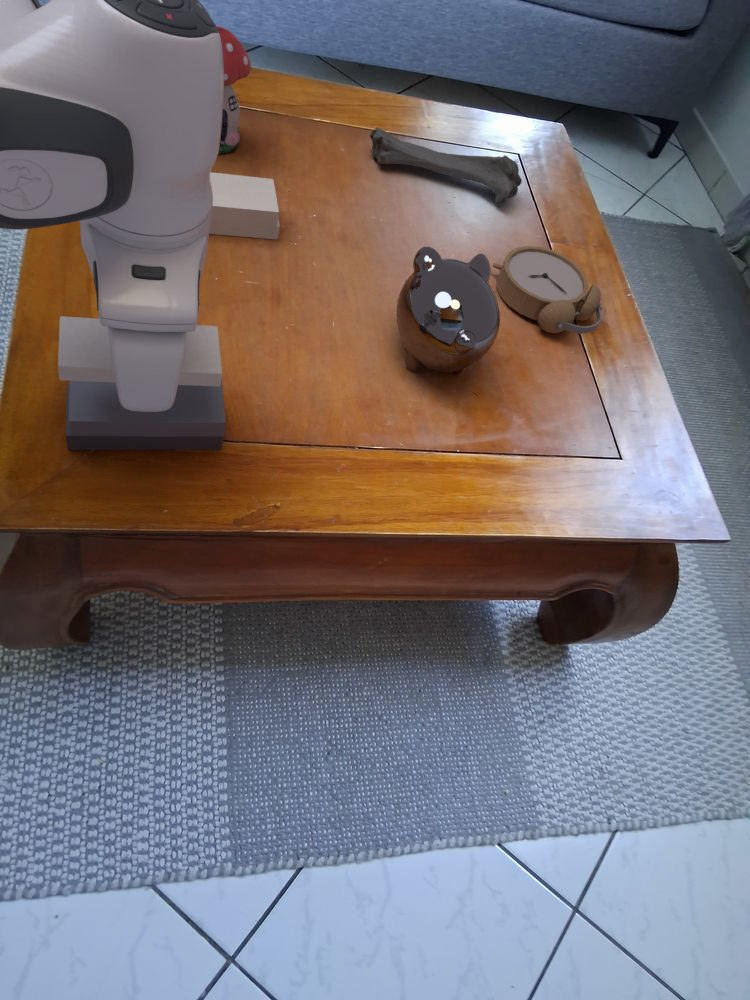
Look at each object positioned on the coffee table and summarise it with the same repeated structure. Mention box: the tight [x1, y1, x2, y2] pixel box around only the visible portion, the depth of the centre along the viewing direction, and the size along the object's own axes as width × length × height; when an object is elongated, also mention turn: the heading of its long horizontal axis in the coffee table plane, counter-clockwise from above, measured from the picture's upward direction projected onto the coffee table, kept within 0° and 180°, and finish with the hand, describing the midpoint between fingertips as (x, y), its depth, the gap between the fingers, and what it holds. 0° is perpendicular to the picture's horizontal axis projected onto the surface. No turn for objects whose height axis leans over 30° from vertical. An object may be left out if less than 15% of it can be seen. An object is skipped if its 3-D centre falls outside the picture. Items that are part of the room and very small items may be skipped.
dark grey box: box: [65, 377, 227, 451], centre depth 72 cm, size 14×6×4 cm, turn 100°
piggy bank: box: [395, 246, 501, 375], centre depth 84 cm, size 11×15×12 cm
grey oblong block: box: [209, 171, 281, 240], centre depth 90 cm, size 14×6×4 cm, turn 100°
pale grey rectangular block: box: [57, 315, 223, 386], centre depth 65 cm, size 13×6×2 cm, turn 100°
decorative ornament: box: [216, 25, 252, 155], centre depth 93 cm, size 9×6×15 cm
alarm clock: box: [492, 245, 603, 334], centre depth 97 cm, size 11×5×15 cm
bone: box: [369, 127, 523, 207], centre depth 105 cm, size 22×6×6 cm, turn 83°
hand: (141, 357), depth 65 cm, fingers closed on pale grey rectangular block, 5 cm apart
